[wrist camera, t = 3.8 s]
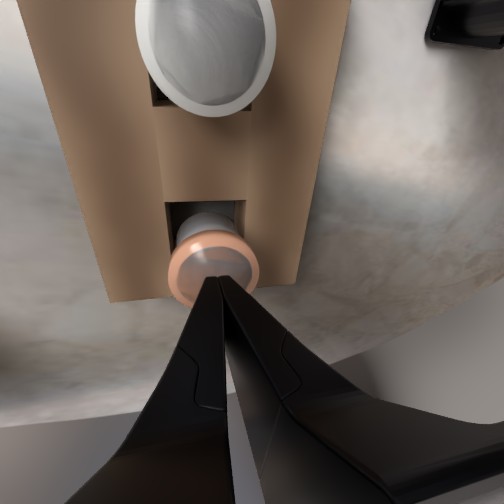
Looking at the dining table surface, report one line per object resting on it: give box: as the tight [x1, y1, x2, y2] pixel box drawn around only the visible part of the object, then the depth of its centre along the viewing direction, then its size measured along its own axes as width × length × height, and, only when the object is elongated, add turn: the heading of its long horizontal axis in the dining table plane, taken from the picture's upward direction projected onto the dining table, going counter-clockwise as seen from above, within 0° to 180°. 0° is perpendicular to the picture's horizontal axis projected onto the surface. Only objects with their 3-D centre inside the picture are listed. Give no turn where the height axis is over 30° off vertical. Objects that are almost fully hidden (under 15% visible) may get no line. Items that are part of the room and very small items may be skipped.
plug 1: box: [135, 0, 276, 117], centre depth 11 cm, size 5×5×4 cm
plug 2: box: [168, 212, 259, 308], centre depth 16 cm, size 5×5×4 cm
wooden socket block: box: [17, 0, 351, 303], centre depth 17 cm, size 14×20×4 cm
